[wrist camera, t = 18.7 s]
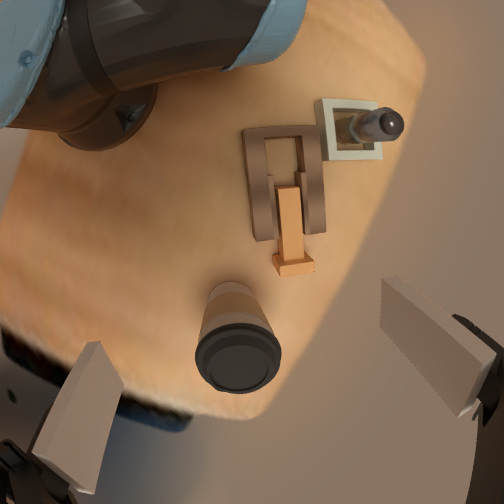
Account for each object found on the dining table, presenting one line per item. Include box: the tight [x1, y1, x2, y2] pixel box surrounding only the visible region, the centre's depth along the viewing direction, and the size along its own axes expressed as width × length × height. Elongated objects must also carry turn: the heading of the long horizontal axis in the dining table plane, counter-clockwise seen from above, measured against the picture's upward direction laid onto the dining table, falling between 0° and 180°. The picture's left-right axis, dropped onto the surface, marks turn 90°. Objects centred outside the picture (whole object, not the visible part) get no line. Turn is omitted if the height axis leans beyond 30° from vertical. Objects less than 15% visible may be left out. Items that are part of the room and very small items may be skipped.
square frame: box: [314, 98, 383, 161], centre depth 32 cm, size 8×8×3 cm
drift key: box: [273, 186, 315, 277], centre depth 35 cm, size 10×4×4 cm, turn 6°
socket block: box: [242, 125, 326, 242], centre depth 34 cm, size 14×9×3 cm, turn 6°
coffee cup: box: [195, 282, 281, 394], centre depth 32 cm, size 9×9×15 cm
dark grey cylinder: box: [334, 107, 404, 145], centre depth 28 cm, size 4×4×12 cm
